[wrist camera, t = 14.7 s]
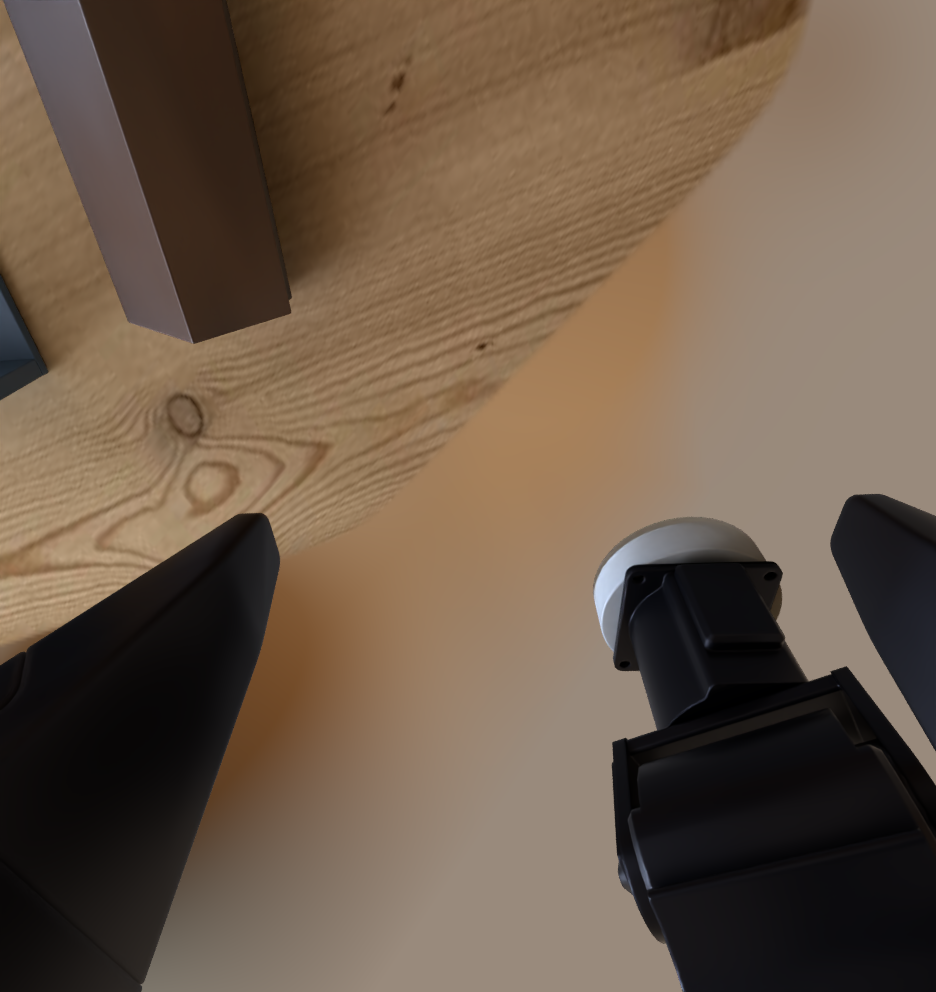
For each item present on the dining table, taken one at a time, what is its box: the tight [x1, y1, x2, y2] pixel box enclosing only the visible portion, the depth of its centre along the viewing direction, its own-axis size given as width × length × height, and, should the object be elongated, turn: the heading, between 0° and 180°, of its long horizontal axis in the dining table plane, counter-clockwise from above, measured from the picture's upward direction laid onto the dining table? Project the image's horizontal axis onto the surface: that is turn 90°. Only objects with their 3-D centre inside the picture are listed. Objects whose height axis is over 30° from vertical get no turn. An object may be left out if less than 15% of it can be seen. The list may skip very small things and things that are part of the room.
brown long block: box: [3, 0, 292, 344], centre depth 13 cm, size 12×4×4 cm
